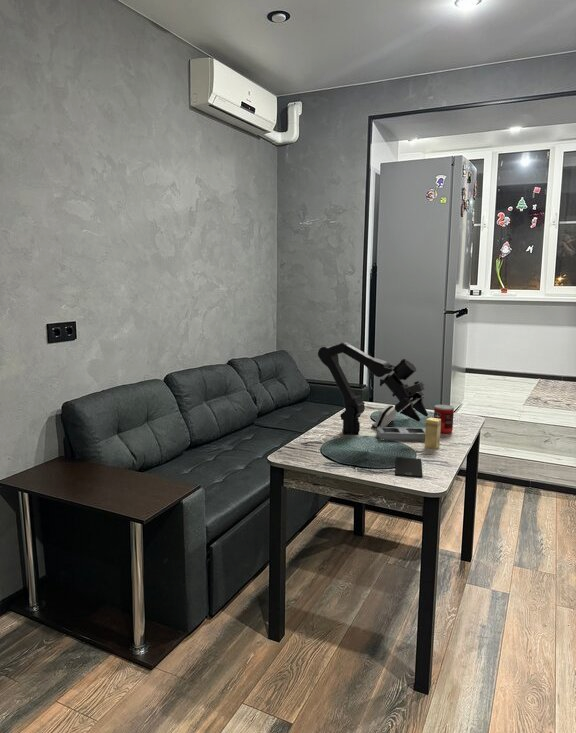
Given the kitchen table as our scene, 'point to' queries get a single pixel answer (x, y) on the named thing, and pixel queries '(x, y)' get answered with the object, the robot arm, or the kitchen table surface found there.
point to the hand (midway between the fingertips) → (423, 418)
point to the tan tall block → (432, 433)
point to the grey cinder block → (401, 433)
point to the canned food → (445, 417)
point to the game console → (385, 416)
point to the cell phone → (408, 467)
